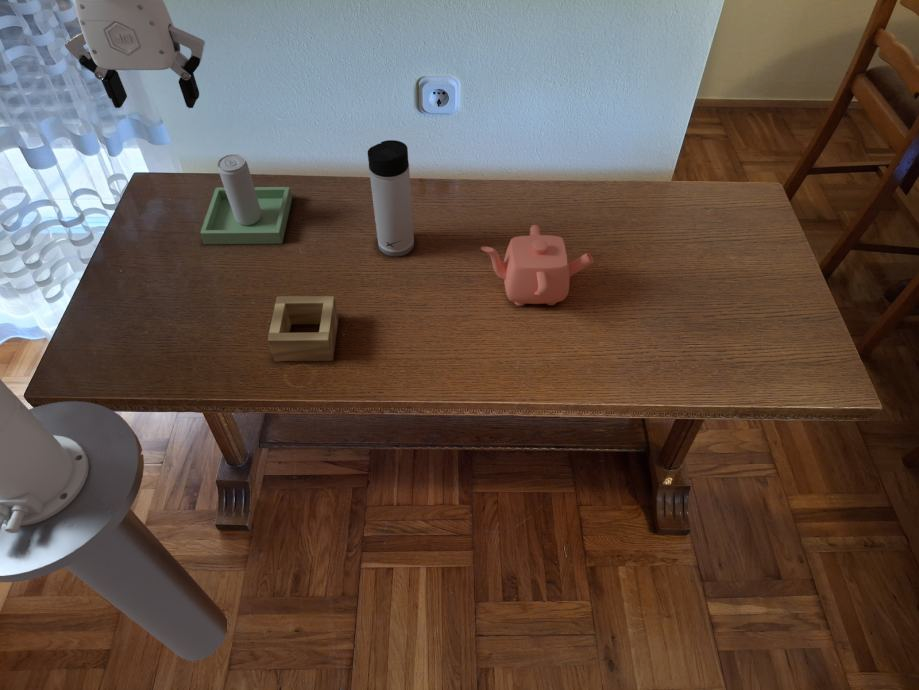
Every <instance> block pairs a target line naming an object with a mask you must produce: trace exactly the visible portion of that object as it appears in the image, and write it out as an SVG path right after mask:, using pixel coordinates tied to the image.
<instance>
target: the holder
mask: <svg viewBox="0 0 919 690" xmlns="http://www.w3.org/2000/svg"><path fill="white" fill-rule="evenodd" d="M274 303H275V304H274V308H273V313H272V318H271V323H270V326H269V327H270V328H269V331H268V336H267V343H268V347H269V349H270V352H271V355H272V357H273V360H274V362H333V361H334V356H335V350H336V349H335V348H336V341H337V333H338V326H339V313H338V307H337V302H336V298H335V295H294V296H293V295H285V296H283V295H281V296H278V295H277V296H276V299H275V302H274ZM292 325H319V330H318V332H315V331H314V332H291V329H292Z"/></svg>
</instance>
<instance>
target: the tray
mask: <svg viewBox="0 0 919 690" xmlns="http://www.w3.org/2000/svg"><path fill="white" fill-rule="evenodd" d="M254 188H255V192H256V195H257V198H258V202H259V205H260V209H261V212H262V216H261V218H260V220H259V221H258V222H257V223H255V224H253V225H241V224H239V223H238V222H237V221H236V220H235V217H234V214H233V211H232V208H231V205H230V202H229V200H228V197H227V194H226V191H225V188H224V186H223V187H221V186H220V187H219V186H218V187H215V189H214V191H213V194H212V197H211V200H210V203H209V206H208V209H207V212H206V215H205V217H204V221H203V224H202V226H201V229H200V237H201V239H202V241H203V245H274V244H275V245H277V244H278V245H280V244H281V245H282V244H283V241H284V237H285V233H286V228H287V224H288V219H289V215H290V210H291V206H292V201H293V195H292V190H291V187H290V186H254Z"/></svg>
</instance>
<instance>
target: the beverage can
mask: <svg viewBox="0 0 919 690" xmlns="http://www.w3.org/2000/svg"><path fill="white" fill-rule="evenodd" d="M217 170H218V174H219V176H220V179H221V182H222V185H223V187H224V188H225V191H226V194H227V197H228V200H229V202H230V205H231V208H232V211H233V214H234V217H235V220H236V221H237V222H238V223H239V224H241V225H253V224H255V223H257V222H258V221H259V220H260V218H261V216H262V212H261V209H260V205H259V202H258V198H257V195H256V192H255V188H254V187H255V185H254V181H253V178H252V174H251V171H250V168H249V164H248V162H247V160H246V158H245V157H244V156H243V155H241V154H237V153H236V154H235V153H232V154H226V155H224V156H222V157H221V158H219V160H218V162H217Z"/></svg>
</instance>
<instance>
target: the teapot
mask: <svg viewBox="0 0 919 690" xmlns="http://www.w3.org/2000/svg"><path fill="white" fill-rule="evenodd" d="M480 250H481V251H483V252H484V253H486V254H488V255H489V257H490V259H491V264H492V268H493V272H494V273H495V275H496V276H497V277H498V278H499V279H501V280H502V281H503V283H504V289H505V294H506V297H507V299H508V301H510V302H511V303H514V304H515V305H516V306H524V305H526V304H532V305H541V304H546V305H548V306H554V305H556V304H557V303H560V302H563V301H564V300H565V299H566V298H567V296H568V295H569V291H570V277H572V276H574V275H576V274H578V273H579V272H580V271H582V270H583V269H586V268H587V267H588V266H590V265H592V264H593V263H595V261H594V258H593V256H592V255H591V254H590V253H589V252H586V253H584V254H583V255H581V256H579V257H577V258H576V259H574V260H573V261H571V262H570V263H569V260H568V259H569V258H568V253H567V248H566V244H565V240H564V238H563V237H562V236H557V235H550V234H549V235H547V234H546V235H545V234H541V229H540V226H539V225H538V224H532V225H531V226H530V230H529V235H519V236H514V237H512V238H511V239H510V241H509V243H508V246H507V248H506V250H505V251H506V252H505V254H504V259H503V260H501V259H500V256H499V253H498V251H497V250H496V249H495V248H493V247H490V246H481V247H480Z"/></svg>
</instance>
